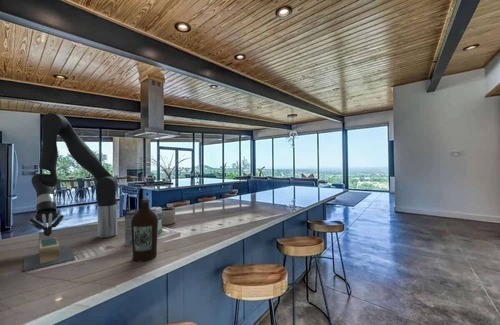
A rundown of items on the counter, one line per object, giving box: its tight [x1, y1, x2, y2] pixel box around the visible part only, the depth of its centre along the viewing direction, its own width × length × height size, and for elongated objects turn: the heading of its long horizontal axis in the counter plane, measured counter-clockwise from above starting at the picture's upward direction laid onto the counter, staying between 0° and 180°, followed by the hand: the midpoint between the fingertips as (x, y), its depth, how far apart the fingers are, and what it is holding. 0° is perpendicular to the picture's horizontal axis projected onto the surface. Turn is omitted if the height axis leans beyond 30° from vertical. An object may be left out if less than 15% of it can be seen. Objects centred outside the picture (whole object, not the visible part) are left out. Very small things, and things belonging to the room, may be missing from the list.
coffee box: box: [124, 209, 140, 247], centre depth 122 cm, size 9×6×16 cm
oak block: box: [38, 236, 60, 264], centre depth 103 cm, size 6×6×16 cm
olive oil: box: [131, 198, 158, 262], centre depth 103 cm, size 11×11×25 cm
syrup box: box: [149, 206, 163, 234], centre depth 139 cm, size 6×6×14 cm
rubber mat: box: [22, 247, 77, 272], centre depth 102 cm, size 18×16×1 cm
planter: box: [161, 207, 177, 226], centre depth 161 cm, size 11×11×10 cm
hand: (47, 235), depth 109 cm, fingers closed
